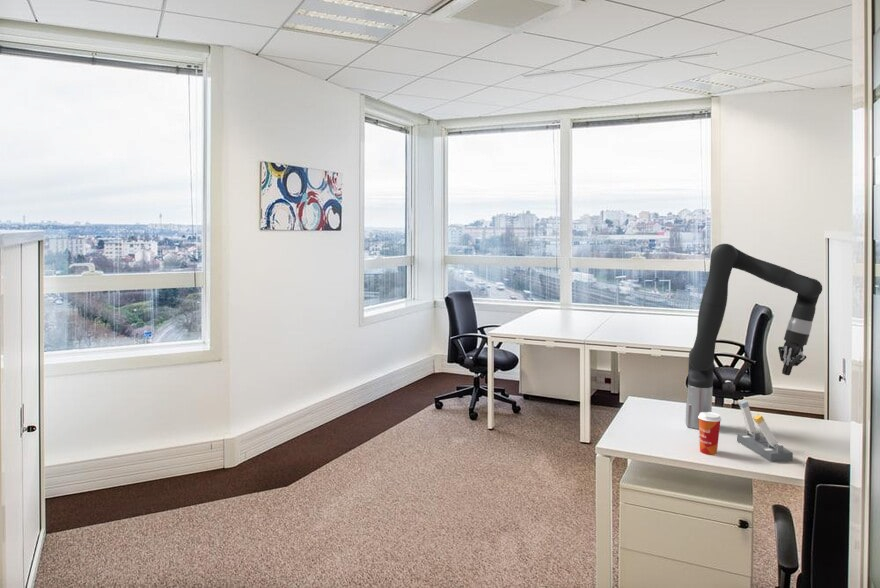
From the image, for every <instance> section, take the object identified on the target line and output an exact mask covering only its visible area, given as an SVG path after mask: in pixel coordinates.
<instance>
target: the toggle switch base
mask: <svg viewBox="0 0 880 588" xmlns="http://www.w3.org/2000/svg"><path fill="white" fill-rule="evenodd" d="M737 441H738V444H740V443H741V444H740V445H742V446H744V447H745V446H746V447H745V448H747V449H749V450H750V451H751V452H754V453H755V454H757V455H758V456H760V457H762V458H763V459H764V460H766V461H768V462H770V463H775V462H777V463H778V462H793V459H794V458H793V456H794V452H793V451H791V450H788V449H787V448H785V447H784V445H780V444H779V443H777V444H775V445H777V449H775V448H774V447H772V446H771V445H770V444H769V443H768V441H767V440H766V438H765V436H764V435H763V434H762V435H761V433H760V432H754V436H753V435H751V434H749V431H748V430H747V428H746V433H745V432H744V433H737V434H736V442H737Z"/></svg>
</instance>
